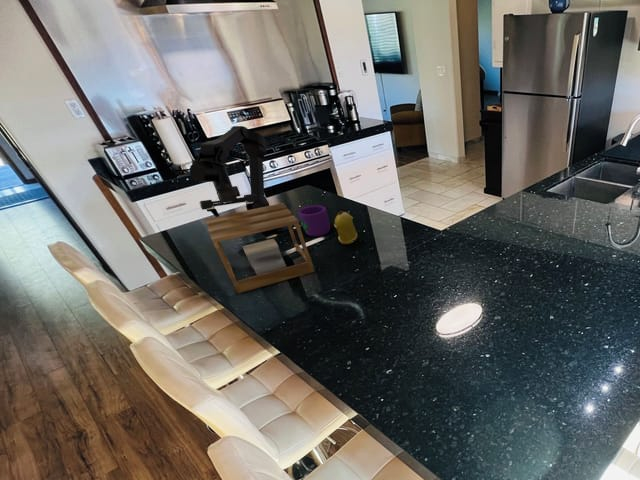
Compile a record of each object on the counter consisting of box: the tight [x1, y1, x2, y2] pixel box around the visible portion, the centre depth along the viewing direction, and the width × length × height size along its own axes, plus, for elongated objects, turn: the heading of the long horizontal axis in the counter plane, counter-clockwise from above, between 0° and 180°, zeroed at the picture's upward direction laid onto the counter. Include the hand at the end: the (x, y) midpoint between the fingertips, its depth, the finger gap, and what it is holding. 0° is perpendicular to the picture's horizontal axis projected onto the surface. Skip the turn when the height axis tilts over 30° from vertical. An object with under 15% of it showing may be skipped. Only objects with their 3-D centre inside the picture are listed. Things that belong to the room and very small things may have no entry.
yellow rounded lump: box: [333, 210, 359, 245], centre depth 161 cm, size 12×8×15 cm
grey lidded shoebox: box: [241, 238, 288, 276], centre depth 147 cm, size 11×16×8 cm
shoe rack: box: [204, 202, 316, 294], centre depth 143 cm, size 22×26×19 cm
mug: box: [297, 204, 331, 237], centre depth 173 cm, size 17×11×10 cm, turn 44°
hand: (238, 225), depth 153 cm, fingers open, 9 cm apart
